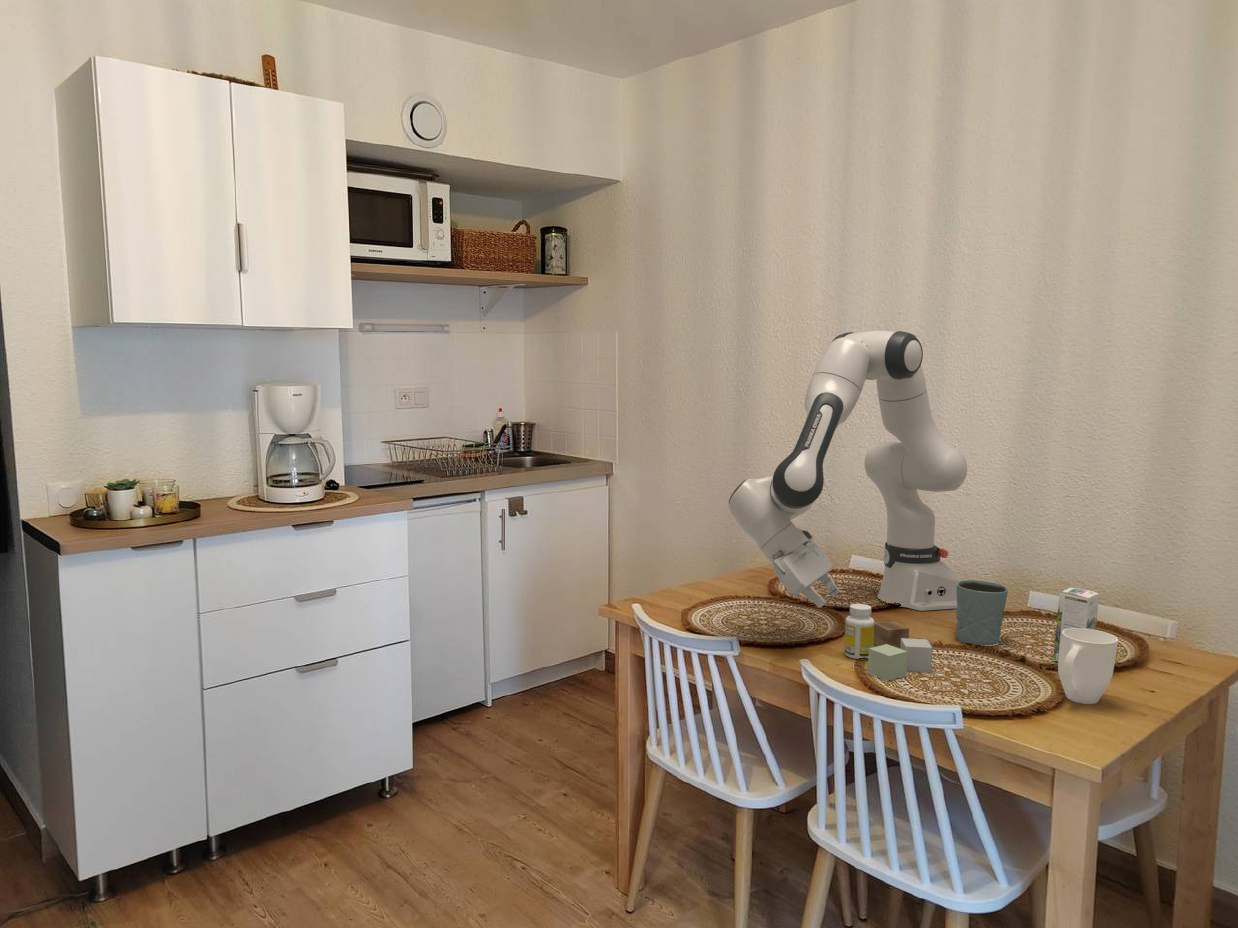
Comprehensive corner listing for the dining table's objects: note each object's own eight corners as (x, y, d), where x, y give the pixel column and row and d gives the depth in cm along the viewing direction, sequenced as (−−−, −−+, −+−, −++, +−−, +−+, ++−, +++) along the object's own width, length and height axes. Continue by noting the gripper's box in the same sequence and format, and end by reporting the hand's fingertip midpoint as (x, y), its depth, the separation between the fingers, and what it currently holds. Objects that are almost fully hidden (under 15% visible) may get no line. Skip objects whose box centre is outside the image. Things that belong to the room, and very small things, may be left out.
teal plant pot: (943, 635, 197) (946, 581, 196) (981, 631, 200) (985, 578, 199) (975, 649, 188) (978, 593, 186) (1015, 645, 191) (1018, 590, 189)
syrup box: (1063, 655, 185) (1068, 586, 183) (1094, 662, 181) (1099, 591, 179) (1052, 661, 181) (1057, 591, 179) (1084, 669, 177) (1089, 597, 175)
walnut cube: (893, 644, 191) (894, 621, 190) (908, 651, 186) (909, 628, 186) (873, 646, 190) (874, 623, 189) (887, 654, 185) (888, 630, 184)
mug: (1068, 685, 168) (1075, 623, 166) (1118, 701, 161) (1126, 636, 159) (1038, 700, 160) (1045, 635, 158) (1090, 717, 154) (1098, 650, 152)
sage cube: (885, 668, 176) (886, 644, 176) (906, 676, 172) (907, 651, 171) (867, 673, 173) (868, 648, 173) (888, 681, 169) (889, 655, 169)
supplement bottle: (875, 653, 185) (877, 604, 184) (870, 661, 180) (872, 611, 178) (847, 649, 187) (849, 601, 186) (841, 657, 182) (843, 608, 181)
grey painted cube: (925, 663, 179) (927, 639, 179) (931, 672, 174) (932, 647, 174) (899, 662, 180) (900, 638, 179) (904, 671, 175) (905, 646, 174)
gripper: (779, 547, 178) (826, 602, 175) (811, 530, 196) (854, 580, 193) (757, 566, 181) (803, 621, 178) (790, 547, 199) (832, 597, 195)
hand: (830, 599), depth 185 cm, fingers open, 8 cm apart
